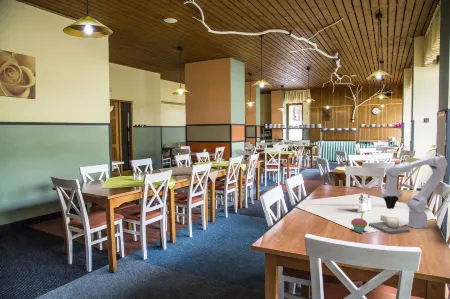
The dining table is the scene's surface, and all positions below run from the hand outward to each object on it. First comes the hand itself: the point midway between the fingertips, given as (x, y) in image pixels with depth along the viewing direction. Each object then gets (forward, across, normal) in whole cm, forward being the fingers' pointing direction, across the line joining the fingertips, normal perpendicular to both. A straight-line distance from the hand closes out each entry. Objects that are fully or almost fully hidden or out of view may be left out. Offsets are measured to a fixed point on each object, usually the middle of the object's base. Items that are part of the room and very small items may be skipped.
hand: (390, 208), depth 190 cm
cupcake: (+11, -24, -3) cm, 27 cm away
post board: (+10, -5, -5) cm, 13 cm away
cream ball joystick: (+8, -4, -4) cm, 10 cm away
